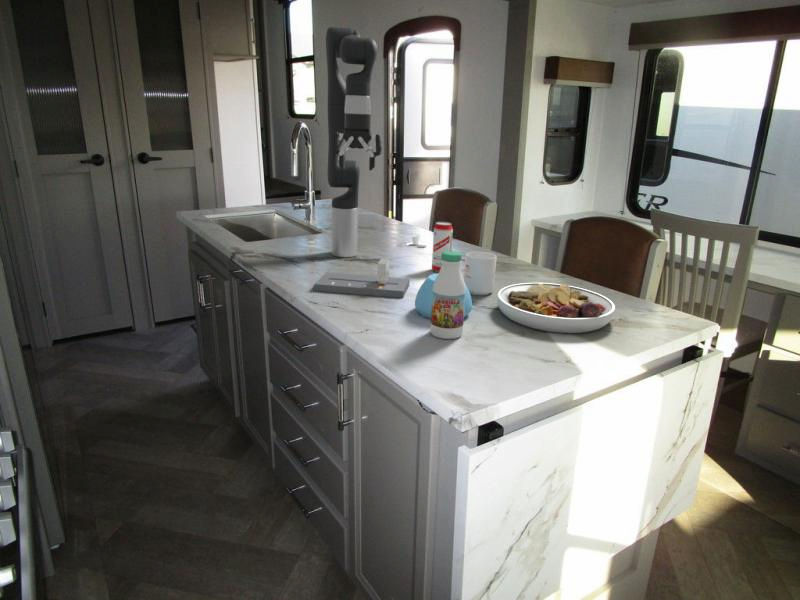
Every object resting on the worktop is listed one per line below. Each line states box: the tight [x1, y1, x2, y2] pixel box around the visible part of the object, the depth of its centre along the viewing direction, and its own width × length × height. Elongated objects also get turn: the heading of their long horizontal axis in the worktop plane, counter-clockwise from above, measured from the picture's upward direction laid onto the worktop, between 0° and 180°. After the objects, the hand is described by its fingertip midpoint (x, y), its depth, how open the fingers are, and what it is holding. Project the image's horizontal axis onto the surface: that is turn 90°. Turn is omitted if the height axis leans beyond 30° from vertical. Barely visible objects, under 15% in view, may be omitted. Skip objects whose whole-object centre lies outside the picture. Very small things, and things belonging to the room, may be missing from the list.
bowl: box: [497, 282, 616, 334], centre depth 151 cm, size 30×30×8 cm
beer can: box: [431, 221, 454, 273], centre depth 189 cm, size 6×6×16 cm
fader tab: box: [376, 258, 390, 284], centre depth 167 cm, size 6×2×6 cm, turn 171°
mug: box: [463, 251, 498, 296], centre depth 170 cm, size 12×9×11 cm
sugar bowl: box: [414, 273, 473, 320], centre depth 149 cm, size 15×15×12 cm
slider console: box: [313, 271, 411, 299], centre depth 169 cm, size 13×26×2 cm, turn 81°
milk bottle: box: [429, 250, 465, 340], centre depth 134 cm, size 8×8×20 cm
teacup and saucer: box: [405, 235, 428, 248], centre depth 225 cm, size 9×8×4 cm
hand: (357, 169), depth 171 cm, fingers open, 8 cm apart
